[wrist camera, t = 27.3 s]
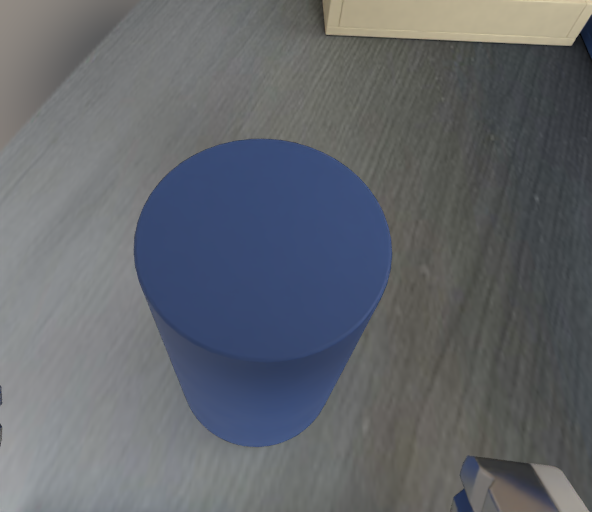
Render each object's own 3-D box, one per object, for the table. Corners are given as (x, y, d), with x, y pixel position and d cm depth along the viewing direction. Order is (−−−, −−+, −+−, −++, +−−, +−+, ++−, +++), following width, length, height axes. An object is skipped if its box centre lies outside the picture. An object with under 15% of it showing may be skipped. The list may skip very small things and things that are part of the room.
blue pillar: (176, 448, 17) (116, 362, 9) (187, 300, 20) (146, 133, 12) (336, 445, 18) (408, 360, 10) (327, 300, 20) (378, 140, 12)
